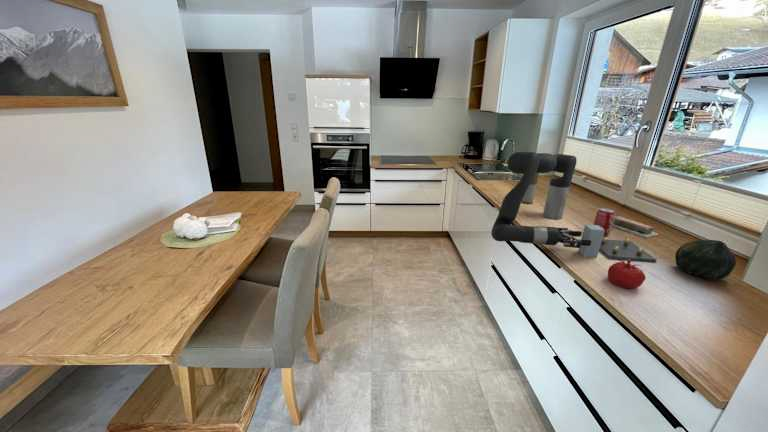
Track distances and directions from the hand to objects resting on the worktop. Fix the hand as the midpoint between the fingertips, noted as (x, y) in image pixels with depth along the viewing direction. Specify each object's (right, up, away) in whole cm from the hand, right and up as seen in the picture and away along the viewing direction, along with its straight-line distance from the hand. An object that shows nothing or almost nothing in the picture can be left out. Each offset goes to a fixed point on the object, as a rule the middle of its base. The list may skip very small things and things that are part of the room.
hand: (585, 238), depth 124 cm
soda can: (+21, 0, +22) cm, 31 cm away
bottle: (+6, +17, +65) cm, 67 cm away
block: (+2, -7, +2) cm, 7 cm away
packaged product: (+40, +2, +27) cm, 48 cm away
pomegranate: (+1, -14, -18) cm, 23 cm away
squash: (+34, -12, -11) cm, 38 cm away
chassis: (+18, -6, +5) cm, 20 cm away
